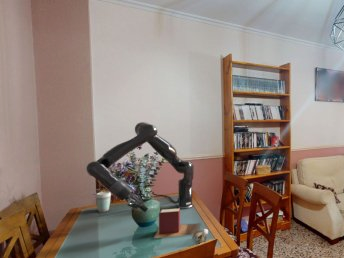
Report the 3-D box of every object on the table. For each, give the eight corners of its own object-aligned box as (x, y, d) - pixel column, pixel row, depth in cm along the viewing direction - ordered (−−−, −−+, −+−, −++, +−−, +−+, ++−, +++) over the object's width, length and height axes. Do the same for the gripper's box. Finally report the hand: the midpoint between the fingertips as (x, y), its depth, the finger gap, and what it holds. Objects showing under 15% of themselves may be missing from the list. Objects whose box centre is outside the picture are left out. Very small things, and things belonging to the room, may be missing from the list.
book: (158, 234, 138) (158, 212, 138) (160, 230, 143) (160, 209, 143) (178, 232, 141) (178, 211, 141) (180, 228, 146) (180, 208, 145)
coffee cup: (113, 209, 174) (113, 192, 173) (99, 213, 166) (98, 195, 166) (107, 207, 178) (107, 190, 177) (93, 210, 171) (93, 193, 170)
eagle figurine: (191, 236, 136) (188, 241, 127) (199, 224, 137) (196, 228, 128) (203, 243, 136) (201, 248, 128) (211, 231, 138) (209, 235, 129)
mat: (153, 238, 134) (153, 238, 134) (159, 227, 148) (159, 227, 148) (197, 234, 140) (197, 233, 140) (199, 224, 153) (199, 223, 153)
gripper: (121, 187, 129) (148, 209, 133) (130, 181, 142) (154, 201, 145) (110, 198, 128) (137, 220, 132) (120, 191, 140) (144, 211, 144)
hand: (146, 210), depth 138 cm, fingers closed
